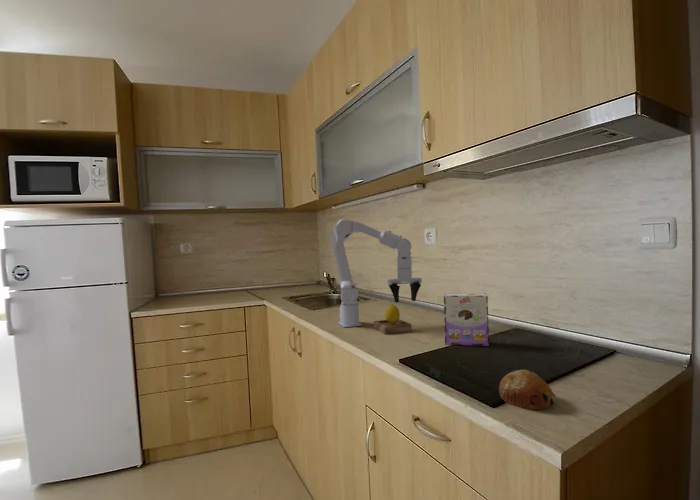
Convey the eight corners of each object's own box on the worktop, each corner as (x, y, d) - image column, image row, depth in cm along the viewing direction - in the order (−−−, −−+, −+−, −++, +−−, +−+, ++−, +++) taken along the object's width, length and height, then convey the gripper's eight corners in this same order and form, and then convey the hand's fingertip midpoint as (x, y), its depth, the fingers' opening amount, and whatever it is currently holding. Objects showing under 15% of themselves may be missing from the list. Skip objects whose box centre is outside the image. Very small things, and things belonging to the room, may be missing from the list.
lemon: (387, 326, 137) (386, 305, 137) (384, 323, 142) (383, 303, 142) (401, 326, 137) (401, 305, 137) (397, 322, 143) (397, 302, 143)
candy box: (487, 342, 120) (486, 292, 120) (489, 346, 115) (488, 295, 114) (444, 340, 124) (443, 292, 124) (444, 344, 118) (443, 294, 118)
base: (373, 328, 144) (373, 321, 144) (398, 325, 147) (398, 318, 147) (385, 334, 133) (385, 326, 133) (411, 331, 137) (411, 324, 137)
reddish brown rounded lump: (528, 406, 81) (514, 369, 84) (569, 402, 73) (552, 362, 76) (498, 417, 76) (484, 378, 79) (538, 414, 68) (522, 370, 71)
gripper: (392, 269, 140) (393, 304, 140) (425, 267, 145) (425, 301, 145) (385, 268, 147) (385, 301, 147) (416, 267, 151) (417, 299, 152)
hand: (405, 301), depth 146 cm, fingers open, 7 cm apart
